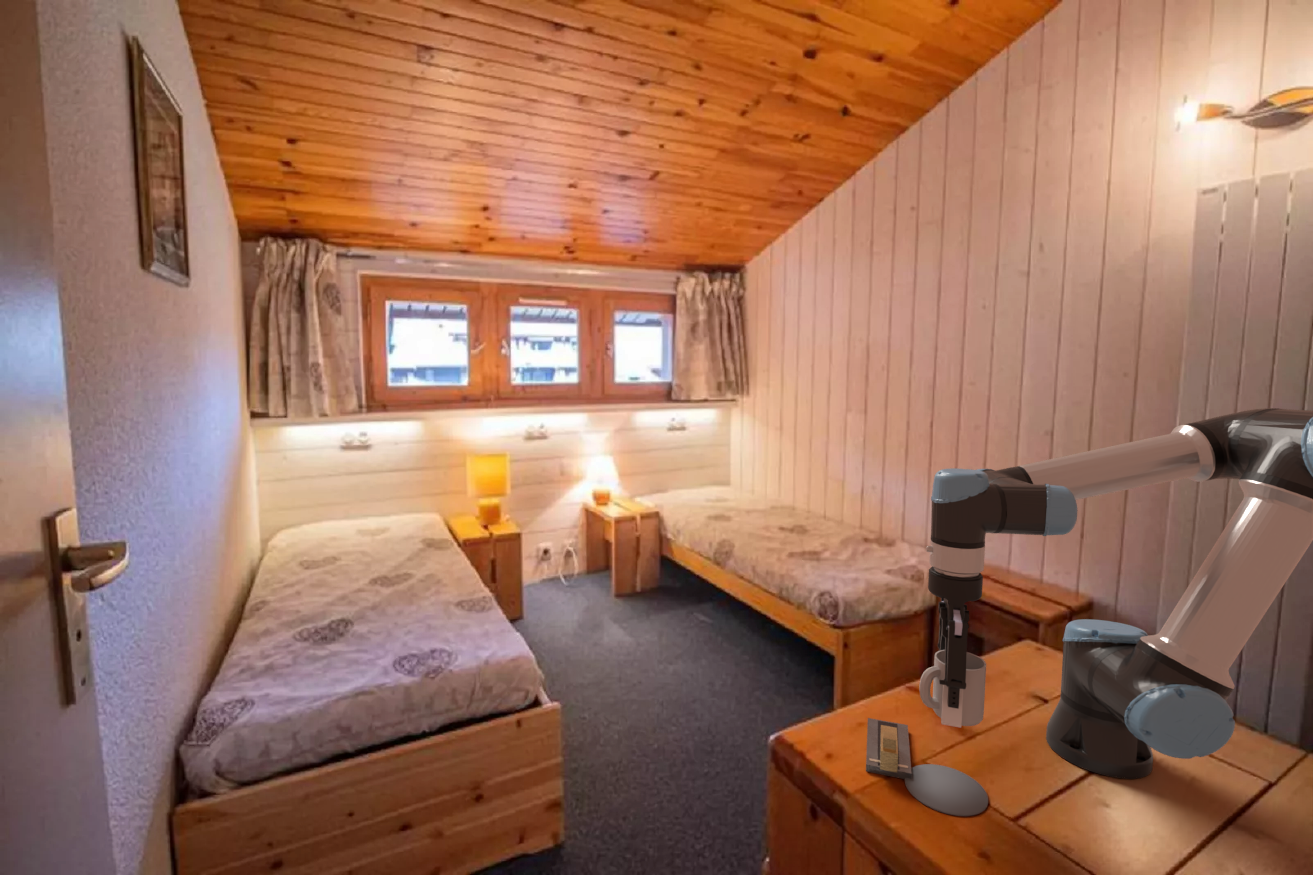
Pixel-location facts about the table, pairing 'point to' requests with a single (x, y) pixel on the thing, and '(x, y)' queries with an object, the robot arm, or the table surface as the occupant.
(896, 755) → the brass stepped block
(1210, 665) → the robot arm
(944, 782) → the coaster
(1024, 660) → the table surface
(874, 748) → the lock plate
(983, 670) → the cup
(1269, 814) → the table surface
